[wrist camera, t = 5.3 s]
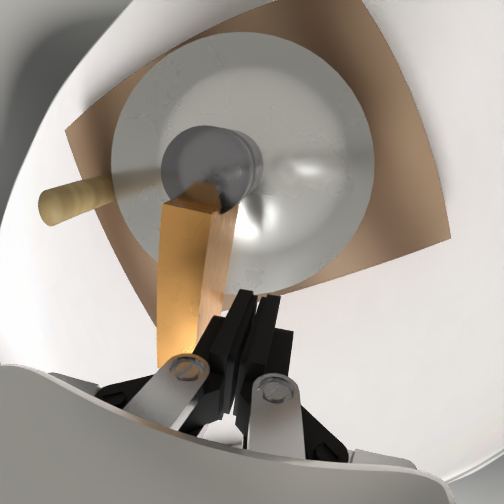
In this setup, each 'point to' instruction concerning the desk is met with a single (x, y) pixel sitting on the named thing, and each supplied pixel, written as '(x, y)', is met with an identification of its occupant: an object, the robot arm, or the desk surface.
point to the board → (376, 112)
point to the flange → (238, 173)
